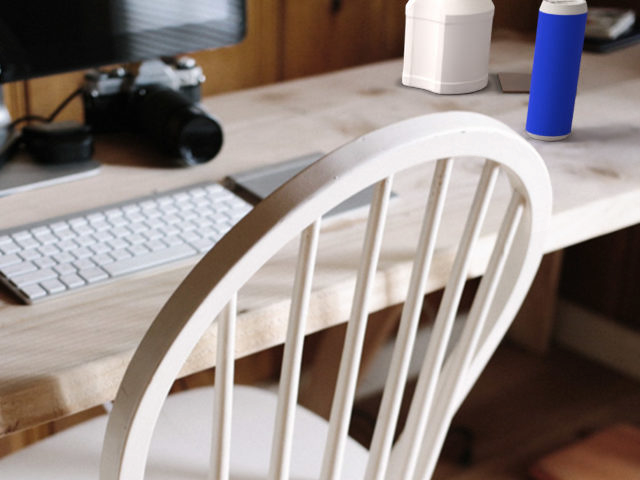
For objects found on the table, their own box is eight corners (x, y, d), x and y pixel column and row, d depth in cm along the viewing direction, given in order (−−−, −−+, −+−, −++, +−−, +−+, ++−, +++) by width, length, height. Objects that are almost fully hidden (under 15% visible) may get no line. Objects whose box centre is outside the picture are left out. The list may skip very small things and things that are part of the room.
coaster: (563, 75, 142) (563, 73, 142) (572, 93, 135) (573, 91, 135) (497, 75, 143) (497, 73, 143) (503, 92, 136) (503, 90, 135)
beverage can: (564, 128, 122) (582, -5, 114) (575, 141, 118) (594, 5, 110) (520, 128, 122) (535, -4, 115) (529, 142, 118) (546, 5, 110)
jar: (389, 82, 141) (394, -34, 134) (434, 69, 147) (442, -43, 139) (454, 98, 134) (464, -24, 126) (500, 84, 139) (512, -34, 131)
